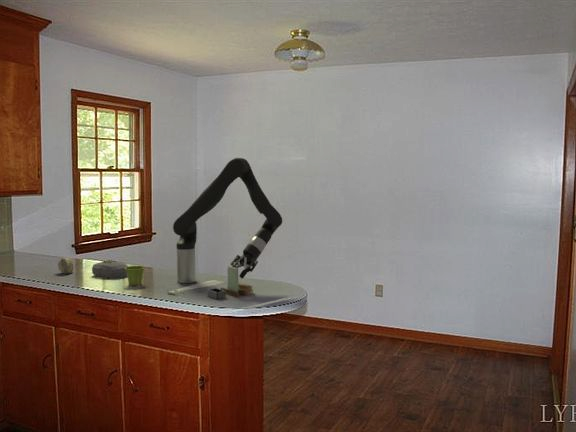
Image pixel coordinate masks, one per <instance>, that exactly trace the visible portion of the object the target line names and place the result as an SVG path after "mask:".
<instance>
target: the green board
mask: <svg viewBox="0 0 576 432" xmlns="http://www.w3.org/2000/svg"><path fill="white" fill-rule="evenodd" d="M238 283H239V268H235V267H232V266H227V287H228V289H229V290H233V291H236V292H239V286H238Z"/></svg>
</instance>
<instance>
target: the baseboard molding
mask: <svg viewBox="0 0 576 432" xmlns="http://www.w3.org/2000/svg"><path fill="white" fill-rule="evenodd" d="M226 283H227V281H221V280H215V279H211V280H208V281H204V282H200V283H195V284H191V285H188V286H184V287H181V288H176V289H174V290H168V291H167V294H168V295H173V296H178V297H179V294H175V293H180V294H181V293H182V294H184V295H185V293H184V291H189V290H194V289H199V288H206V287H210V286H216V285H222V284H223V285H224V284H226Z"/></svg>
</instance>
